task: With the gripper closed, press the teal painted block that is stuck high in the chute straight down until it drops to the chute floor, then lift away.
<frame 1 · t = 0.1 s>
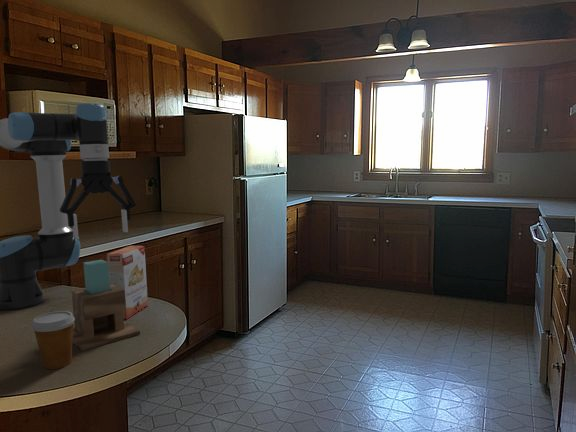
hand: (101, 234, 136), 28 cm above the countertop, tool pointing down, fingers open, 13 cm apart
cracker box: (130, 313, 154), on the countertop
disposable coffee cup: (57, 364, 117), on the countertop
chute: (101, 334, 136), on the countertop
block: (97, 283, 134), point 15 cm above the countertop, slide at 0.0 cm
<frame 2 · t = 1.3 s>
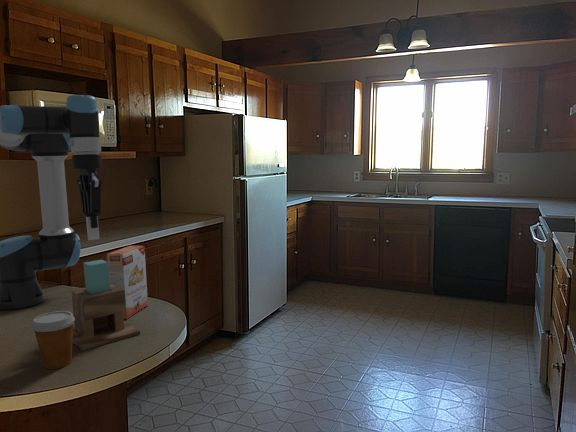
hand: (93, 239, 132), 28 cm above the countertop, tool pointing down, fingers closed
nothing on the countertop moved.
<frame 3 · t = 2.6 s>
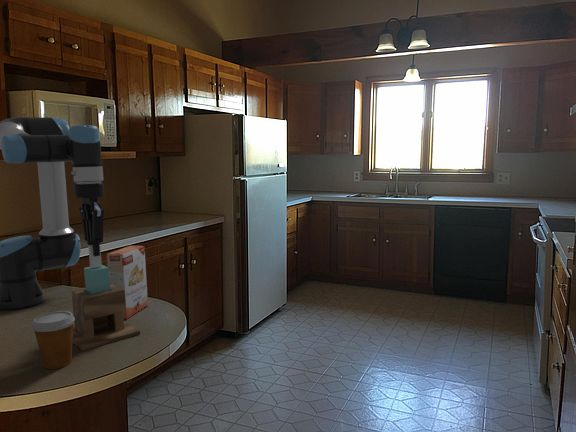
hand: (96, 266, 133), 20 cm above the countertop, tool pointing down, fingers closed
block: (97, 288, 134), point 13 cm above the countertop, slide at 1.5 cm, touching gripper
everything else where it was.
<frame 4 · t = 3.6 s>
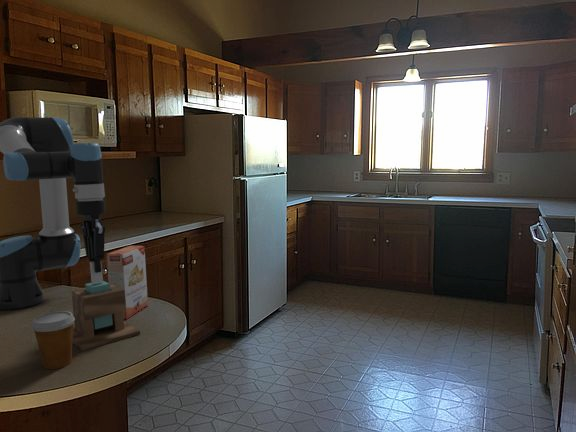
hand: (97, 283, 134), 15 cm above the countertop, tool pointing down, fingers closed
block: (99, 304, 134), point 9 cm above the countertop, slide at 6.2 cm, touching gripper
everything else where it was.
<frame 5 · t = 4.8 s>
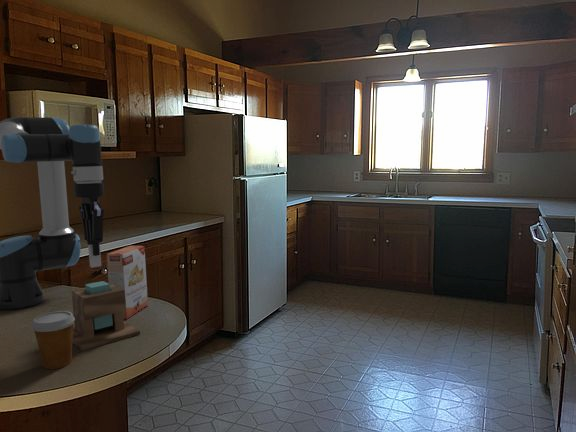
hand: (95, 266, 133), 20 cm above the countertop, tool pointing down, fingers closed
block: (99, 304, 135), point 9 cm above the countertop, slide at 6.3 cm
everything else where it was.
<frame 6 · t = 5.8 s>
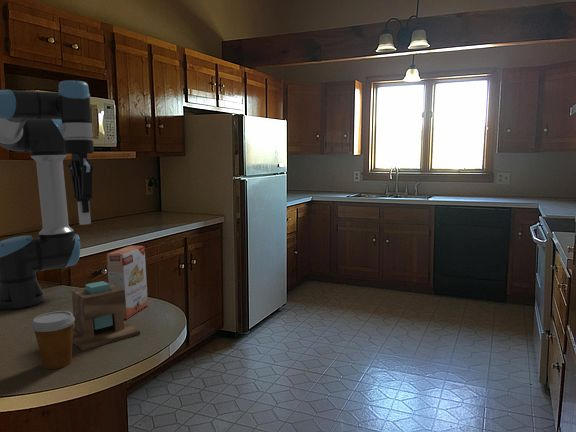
hand: (85, 223, 134), 32 cm above the countertop, tool pointing down, fingers closed
nothing on the countertop moved.
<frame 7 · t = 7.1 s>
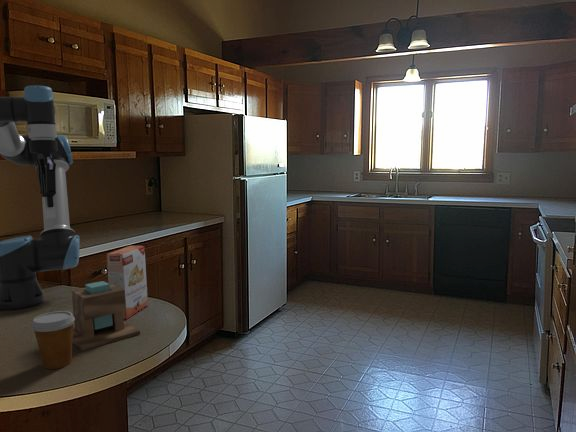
hand: (50, 217, 145), 32 cm above the countertop, tool pointing down, fingers closed
nothing on the countertop moved.
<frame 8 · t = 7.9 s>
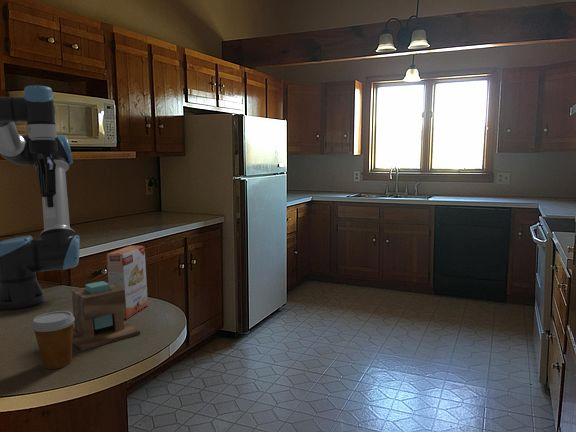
hand: (50, 217, 145), 32 cm above the countertop, tool pointing down, fingers closed
nothing on the countertop moved.
at the end: block slide at 6.3 cm; the gripper is holding nothing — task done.
